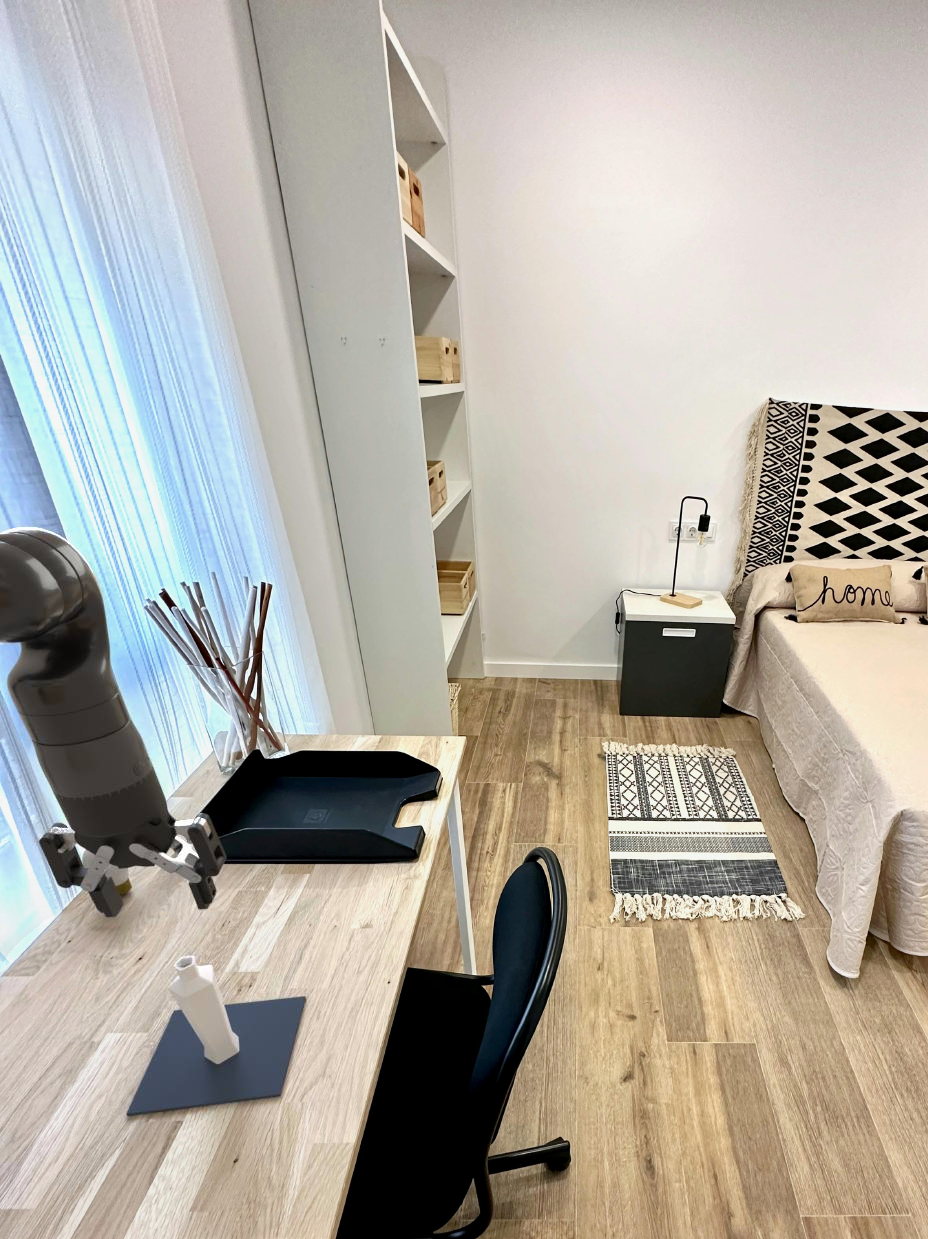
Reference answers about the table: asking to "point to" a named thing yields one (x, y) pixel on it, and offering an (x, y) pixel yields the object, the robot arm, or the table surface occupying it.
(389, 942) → the table surface
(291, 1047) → the cloth
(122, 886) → the light bulb
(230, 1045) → the perfume bottle
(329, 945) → the table surface
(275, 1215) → the table surface
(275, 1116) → the table surface
